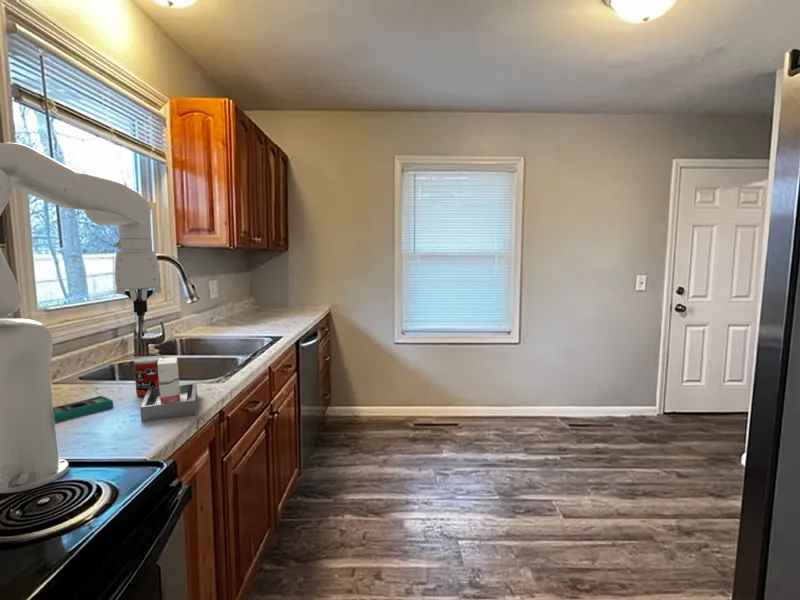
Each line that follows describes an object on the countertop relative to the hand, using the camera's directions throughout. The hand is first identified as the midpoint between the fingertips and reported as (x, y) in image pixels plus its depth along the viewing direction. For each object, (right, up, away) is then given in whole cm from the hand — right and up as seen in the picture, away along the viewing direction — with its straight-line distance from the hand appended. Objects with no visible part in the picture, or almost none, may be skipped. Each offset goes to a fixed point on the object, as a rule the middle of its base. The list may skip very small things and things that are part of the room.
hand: (141, 315), depth 127 cm
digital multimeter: (-19, -28, +5) cm, 34 cm away
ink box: (+5, -25, +6) cm, 26 cm away
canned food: (-8, -25, +20) cm, 33 cm away
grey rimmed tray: (+5, -26, +6) cm, 28 cm away
